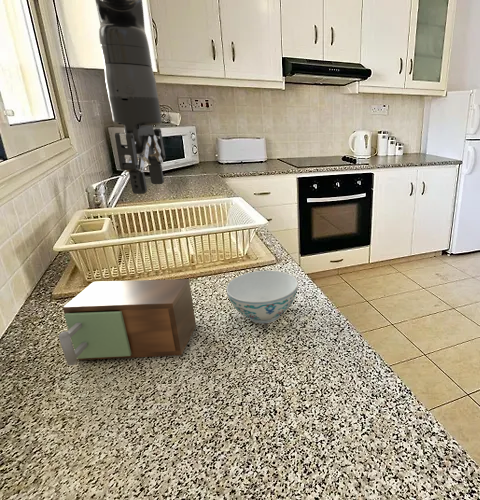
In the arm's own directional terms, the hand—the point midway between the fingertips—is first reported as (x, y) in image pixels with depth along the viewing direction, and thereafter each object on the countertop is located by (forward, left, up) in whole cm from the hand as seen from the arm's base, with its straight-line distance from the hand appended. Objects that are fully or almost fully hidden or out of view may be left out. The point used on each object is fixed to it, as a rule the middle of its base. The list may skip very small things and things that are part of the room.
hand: (149, 188), depth 70 cm
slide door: (-8, -15, -28) cm, 33 cm away
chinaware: (+19, +1, -29) cm, 35 cm away
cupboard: (-4, -7, -29) cm, 30 cm away
